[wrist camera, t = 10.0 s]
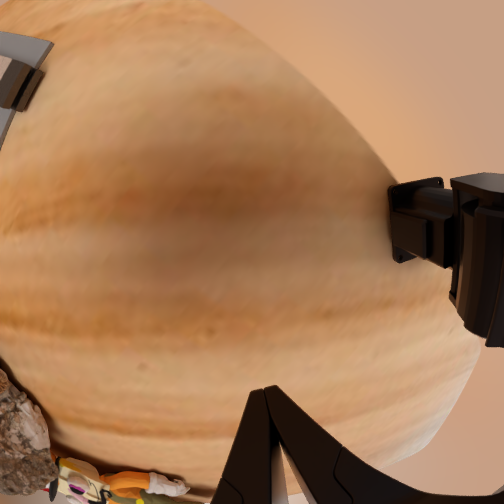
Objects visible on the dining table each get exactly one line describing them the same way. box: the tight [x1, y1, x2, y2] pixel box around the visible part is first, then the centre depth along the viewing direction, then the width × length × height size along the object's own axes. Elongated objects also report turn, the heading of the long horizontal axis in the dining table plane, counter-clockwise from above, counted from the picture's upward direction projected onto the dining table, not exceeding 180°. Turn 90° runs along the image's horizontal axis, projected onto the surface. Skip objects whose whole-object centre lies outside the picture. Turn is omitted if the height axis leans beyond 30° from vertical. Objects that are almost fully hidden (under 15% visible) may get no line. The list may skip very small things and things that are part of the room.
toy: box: [40, 451, 204, 504], centre depth 22 cm, size 17×10×30 cm
